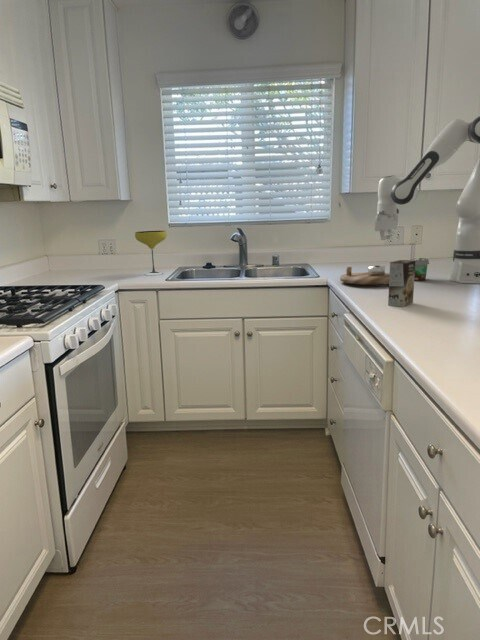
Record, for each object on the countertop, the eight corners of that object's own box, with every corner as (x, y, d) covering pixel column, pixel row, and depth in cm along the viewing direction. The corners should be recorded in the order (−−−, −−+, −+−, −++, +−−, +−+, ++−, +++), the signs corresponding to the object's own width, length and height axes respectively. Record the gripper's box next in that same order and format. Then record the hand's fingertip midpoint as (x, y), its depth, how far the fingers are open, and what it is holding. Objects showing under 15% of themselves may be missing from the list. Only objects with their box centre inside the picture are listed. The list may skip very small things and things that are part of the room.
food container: (423, 282, 220) (424, 261, 218) (410, 281, 224) (411, 260, 221) (431, 278, 230) (432, 258, 227) (418, 278, 233) (419, 257, 231)
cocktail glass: (163, 276, 270) (160, 232, 264) (133, 276, 273) (130, 233, 267) (173, 271, 287) (170, 230, 281) (144, 272, 290) (141, 231, 284)
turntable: (409, 277, 226) (410, 266, 224) (387, 286, 205) (388, 274, 203) (355, 273, 243) (355, 263, 242) (329, 281, 222) (329, 270, 220)
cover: (387, 274, 229) (387, 265, 228) (380, 276, 223) (381, 267, 222) (371, 273, 234) (372, 264, 233) (364, 275, 228) (365, 266, 227)
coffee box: (404, 307, 171) (406, 263, 168) (387, 305, 175) (389, 262, 172) (413, 302, 178) (415, 260, 174) (397, 301, 182) (398, 259, 178)
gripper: (384, 211, 219) (383, 241, 223) (400, 209, 235) (399, 238, 238) (371, 211, 223) (370, 241, 226) (388, 210, 239) (387, 237, 242)
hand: (385, 239), depth 232 cm, fingers open, 5 cm apart
